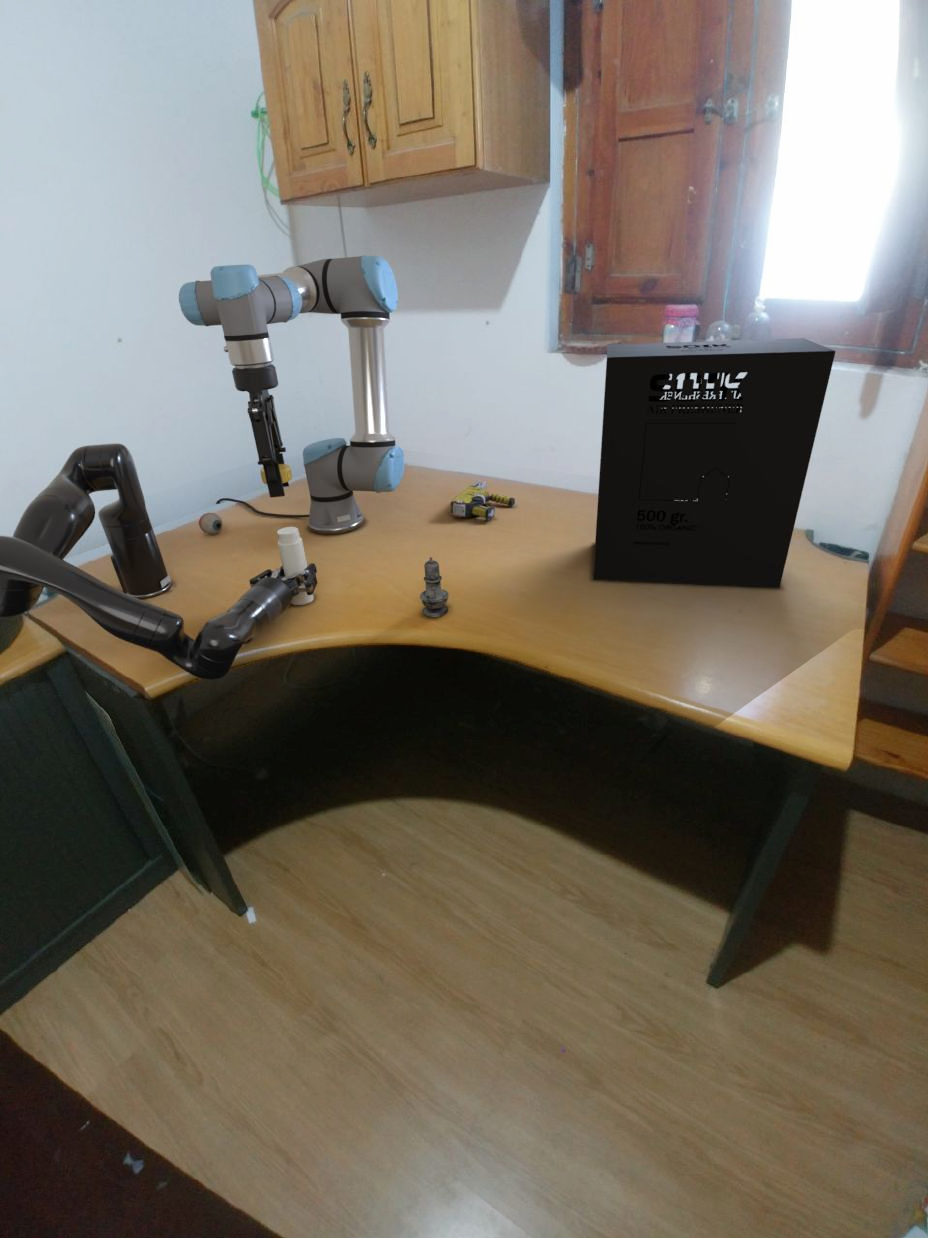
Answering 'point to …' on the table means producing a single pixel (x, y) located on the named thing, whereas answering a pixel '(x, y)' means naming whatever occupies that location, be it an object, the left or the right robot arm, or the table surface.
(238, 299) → the right robot arm
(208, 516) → the eyeball
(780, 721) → the table surface
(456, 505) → the toy gun
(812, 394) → the cardboard box
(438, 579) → the dark grey tall piece
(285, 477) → the lid
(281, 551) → the jar
